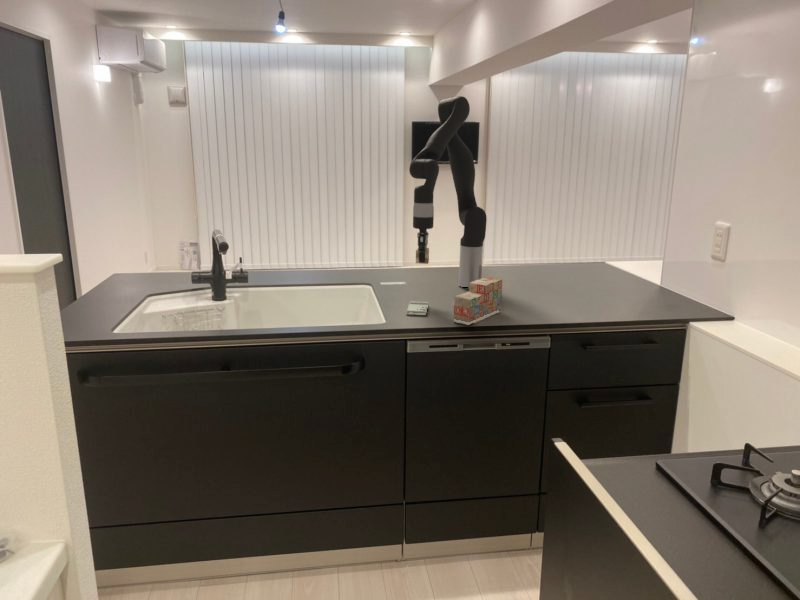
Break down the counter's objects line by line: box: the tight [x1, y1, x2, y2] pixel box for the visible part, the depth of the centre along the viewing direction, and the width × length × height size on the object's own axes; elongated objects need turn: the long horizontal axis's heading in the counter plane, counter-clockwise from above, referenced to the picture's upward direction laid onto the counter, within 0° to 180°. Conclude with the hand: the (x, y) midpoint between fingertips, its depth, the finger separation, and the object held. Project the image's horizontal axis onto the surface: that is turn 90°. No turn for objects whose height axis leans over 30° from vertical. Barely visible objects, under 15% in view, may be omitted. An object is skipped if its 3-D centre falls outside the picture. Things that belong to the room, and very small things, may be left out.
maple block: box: [415, 247, 430, 265], centre depth 220 cm, size 5×5×5 cm
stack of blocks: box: [453, 276, 503, 322], centre depth 202 cm, size 21×6×12 cm, turn 142°
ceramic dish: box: [406, 300, 430, 313], centre depth 210 cm, size 7×12×2 cm, turn 174°
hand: (422, 260), depth 220 cm, fingers closed on maple block, 4 cm apart
